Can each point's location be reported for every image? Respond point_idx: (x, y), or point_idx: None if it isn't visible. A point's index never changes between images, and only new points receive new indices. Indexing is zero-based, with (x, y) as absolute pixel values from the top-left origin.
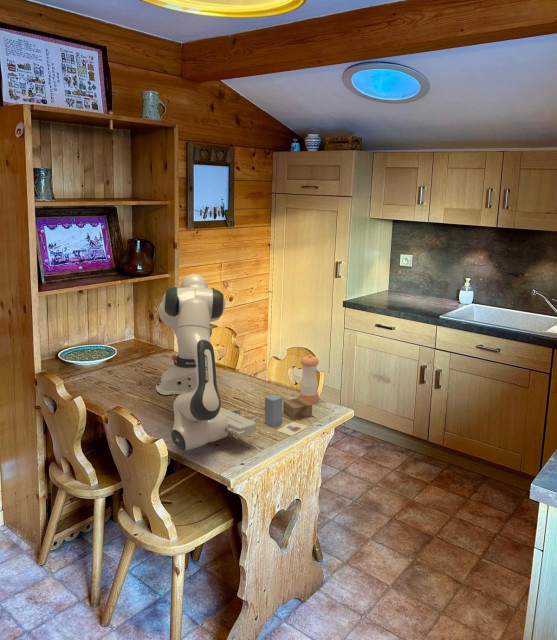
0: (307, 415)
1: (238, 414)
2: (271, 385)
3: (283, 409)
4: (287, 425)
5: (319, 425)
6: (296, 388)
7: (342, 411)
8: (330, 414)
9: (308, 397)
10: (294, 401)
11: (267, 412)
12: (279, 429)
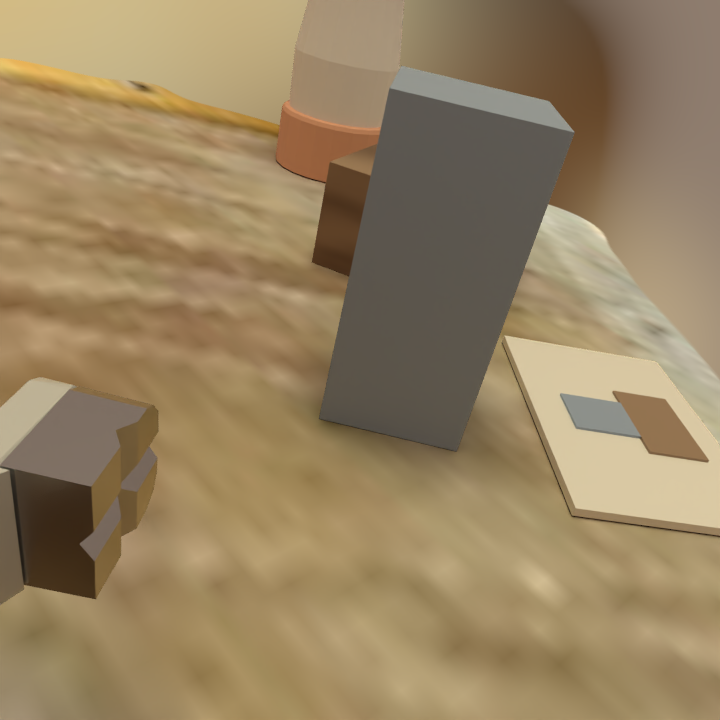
0: None
1: (119, 544)
2: (10, 88)
3: (319, 237)
4: (543, 395)
5: (660, 332)
6: (175, 108)
7: (556, 216)
8: (551, 239)
9: (365, 143)
10: None
11: (395, 303)
12: (576, 480)
